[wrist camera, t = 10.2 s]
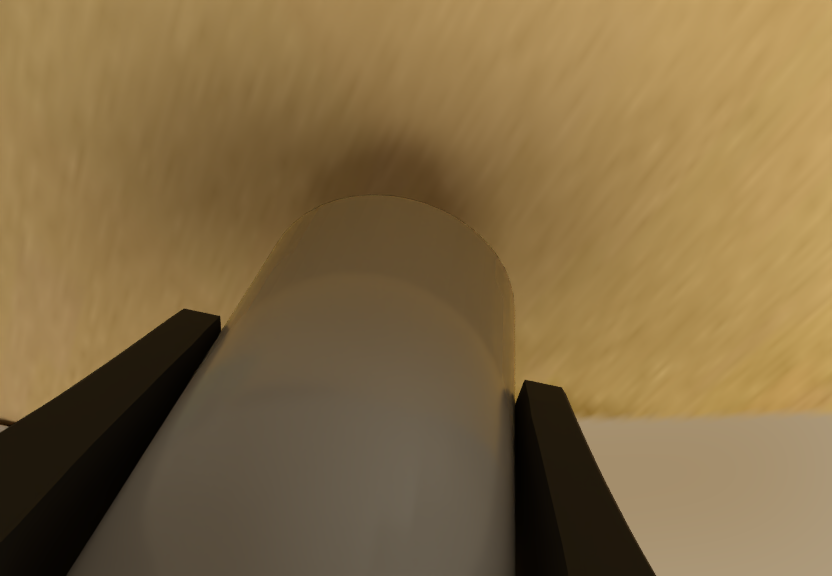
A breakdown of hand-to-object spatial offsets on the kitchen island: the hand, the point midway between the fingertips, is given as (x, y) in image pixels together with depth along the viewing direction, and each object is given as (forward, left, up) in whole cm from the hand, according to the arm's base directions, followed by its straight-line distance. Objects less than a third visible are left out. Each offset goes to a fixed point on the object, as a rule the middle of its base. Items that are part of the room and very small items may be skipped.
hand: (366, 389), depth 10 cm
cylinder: (0, 0, -2) cm, 2 cm away
